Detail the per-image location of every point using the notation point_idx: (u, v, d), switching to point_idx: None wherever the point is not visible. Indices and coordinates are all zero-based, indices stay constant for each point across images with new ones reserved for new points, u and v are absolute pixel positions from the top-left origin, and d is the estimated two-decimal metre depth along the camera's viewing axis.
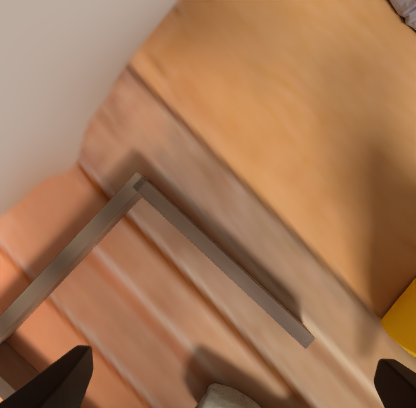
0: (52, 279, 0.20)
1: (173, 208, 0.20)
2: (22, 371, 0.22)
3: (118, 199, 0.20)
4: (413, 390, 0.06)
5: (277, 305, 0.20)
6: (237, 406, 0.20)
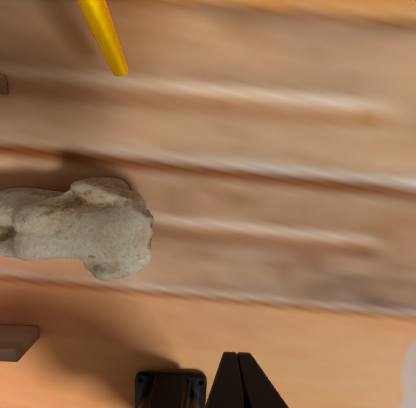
0: None
1: None
2: None
3: None
4: (242, 383, 0.06)
5: None
6: None
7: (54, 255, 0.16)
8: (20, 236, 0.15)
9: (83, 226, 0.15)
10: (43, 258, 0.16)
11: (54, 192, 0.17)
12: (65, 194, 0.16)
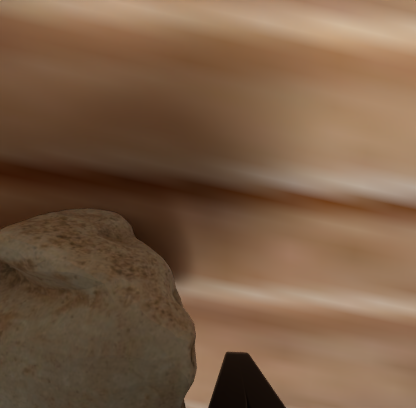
0: None
1: None
2: None
3: None
4: (240, 383, 0.06)
5: None
6: None
7: None
8: None
9: (10, 357, 0.06)
10: None
11: None
12: None
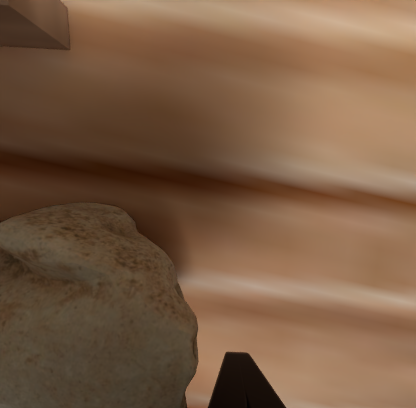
0: None
1: None
2: None
3: None
4: (240, 383, 0.06)
5: None
6: None
7: None
8: None
9: (12, 347, 0.06)
10: None
11: None
12: None
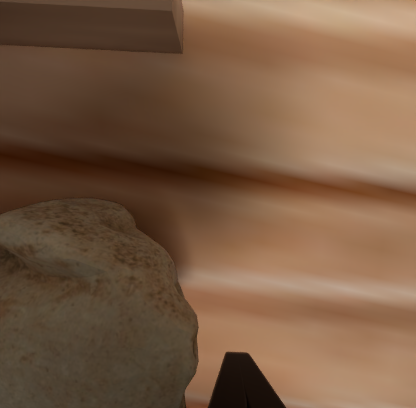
0: None
1: None
2: None
3: None
4: (240, 383, 0.06)
5: None
6: None
7: None
8: None
9: (7, 344, 0.05)
10: None
11: None
12: None
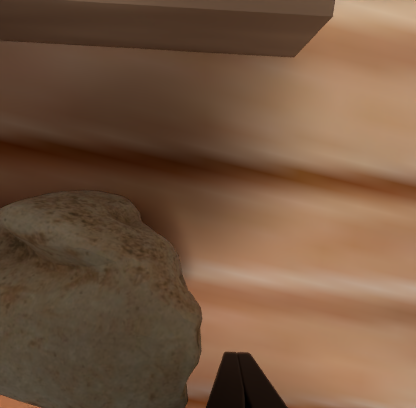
0: None
1: None
2: None
3: None
4: (242, 383, 0.06)
5: None
6: None
7: None
8: None
9: (16, 329, 0.06)
10: None
11: None
12: None
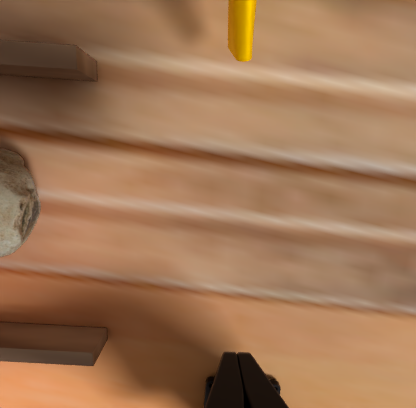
0: None
1: None
2: None
3: None
4: (243, 383, 0.06)
5: None
6: None
7: None
8: None
9: None
10: None
11: None
12: None
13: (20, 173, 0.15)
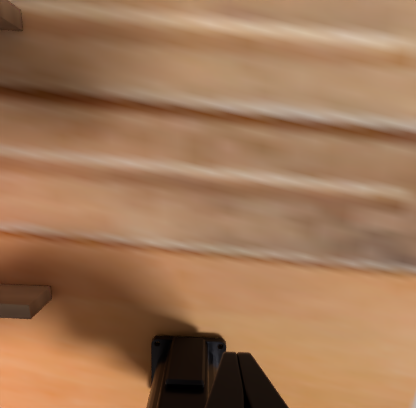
0: None
1: None
2: None
3: None
4: (243, 383, 0.06)
5: None
6: None
7: None
8: None
9: None
10: None
11: None
12: None
13: None
